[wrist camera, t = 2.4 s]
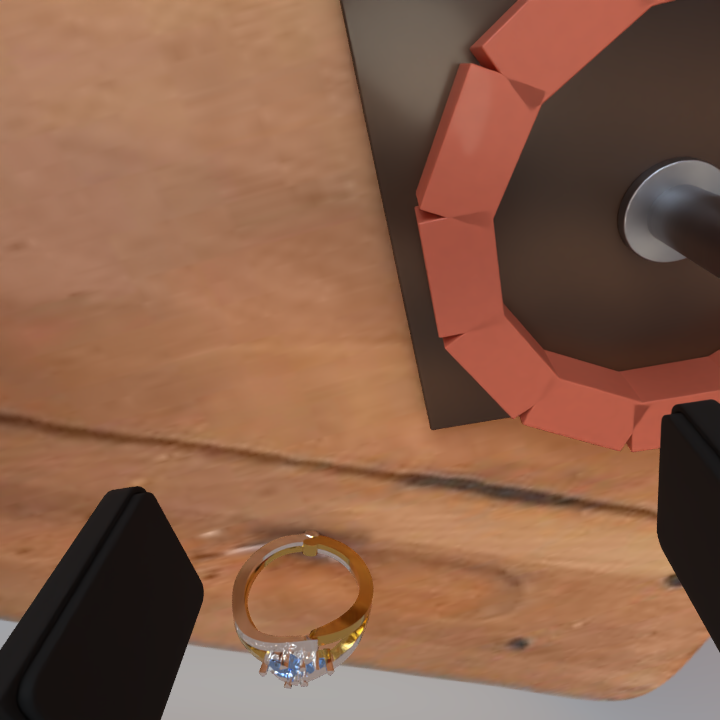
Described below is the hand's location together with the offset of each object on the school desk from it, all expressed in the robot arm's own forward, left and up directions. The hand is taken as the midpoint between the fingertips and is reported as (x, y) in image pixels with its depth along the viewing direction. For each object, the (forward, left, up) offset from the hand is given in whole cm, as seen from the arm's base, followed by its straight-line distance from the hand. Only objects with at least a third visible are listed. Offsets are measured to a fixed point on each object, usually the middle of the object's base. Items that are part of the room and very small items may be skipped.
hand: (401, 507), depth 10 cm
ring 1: (+10, -13, -14) cm, 22 cm away
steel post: (+4, +9, -12) cm, 16 cm away
